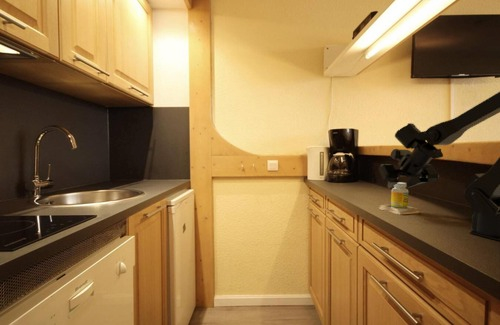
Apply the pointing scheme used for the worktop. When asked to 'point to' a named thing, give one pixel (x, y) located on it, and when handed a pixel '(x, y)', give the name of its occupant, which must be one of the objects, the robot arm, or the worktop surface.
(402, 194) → the supplement bottle
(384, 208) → the tray
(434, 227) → the worktop surface
